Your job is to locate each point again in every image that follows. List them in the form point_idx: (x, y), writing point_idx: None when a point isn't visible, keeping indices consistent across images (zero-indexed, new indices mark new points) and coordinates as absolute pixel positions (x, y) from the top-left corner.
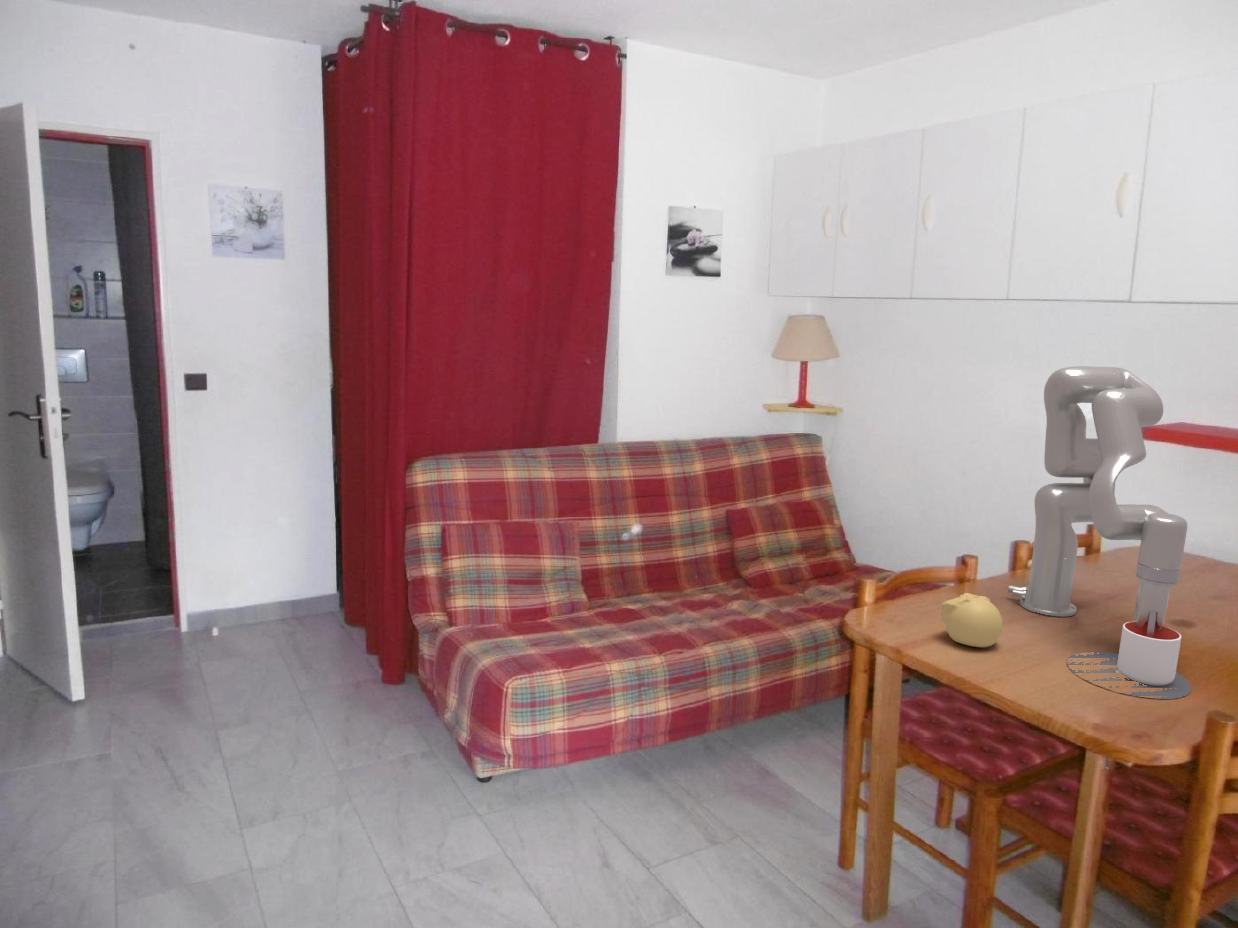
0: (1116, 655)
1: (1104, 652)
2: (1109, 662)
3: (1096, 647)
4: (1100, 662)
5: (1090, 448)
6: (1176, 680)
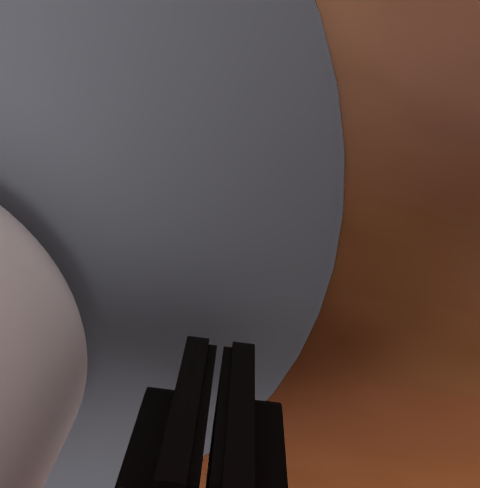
0: (292, 184)
1: (326, 85)
2: (74, 99)
3: (468, 23)
4: (14, 9)
5: None
6: None
